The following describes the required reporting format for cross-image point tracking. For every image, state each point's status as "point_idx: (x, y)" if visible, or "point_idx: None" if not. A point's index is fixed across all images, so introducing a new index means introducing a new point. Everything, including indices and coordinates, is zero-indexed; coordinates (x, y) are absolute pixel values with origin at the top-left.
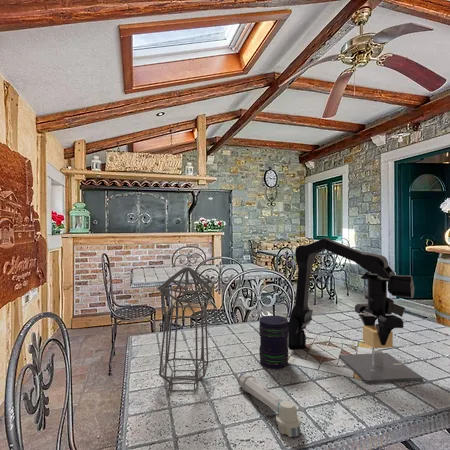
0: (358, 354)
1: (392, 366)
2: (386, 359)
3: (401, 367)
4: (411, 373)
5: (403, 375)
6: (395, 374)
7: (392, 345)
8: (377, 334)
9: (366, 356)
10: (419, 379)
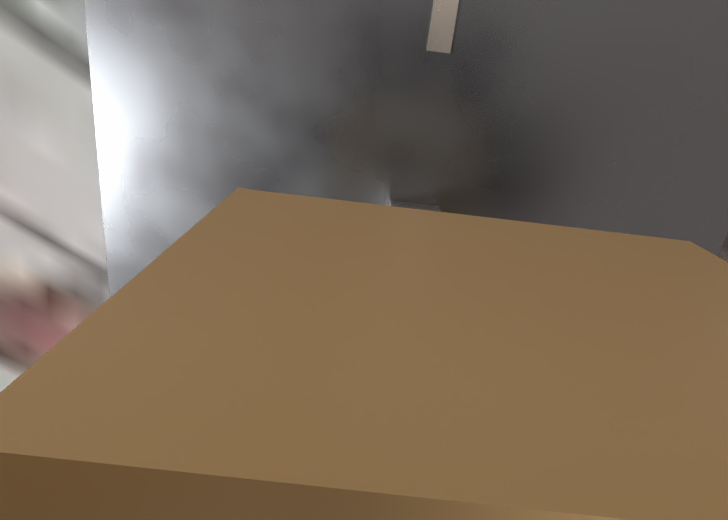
0: (117, 278)
1: (477, 104)
2: (286, 32)
3: (536, 8)
4: (705, 5)
5: (698, 148)
6: (642, 215)
7: (716, 261)
8: None
9: (176, 225)
10: None
